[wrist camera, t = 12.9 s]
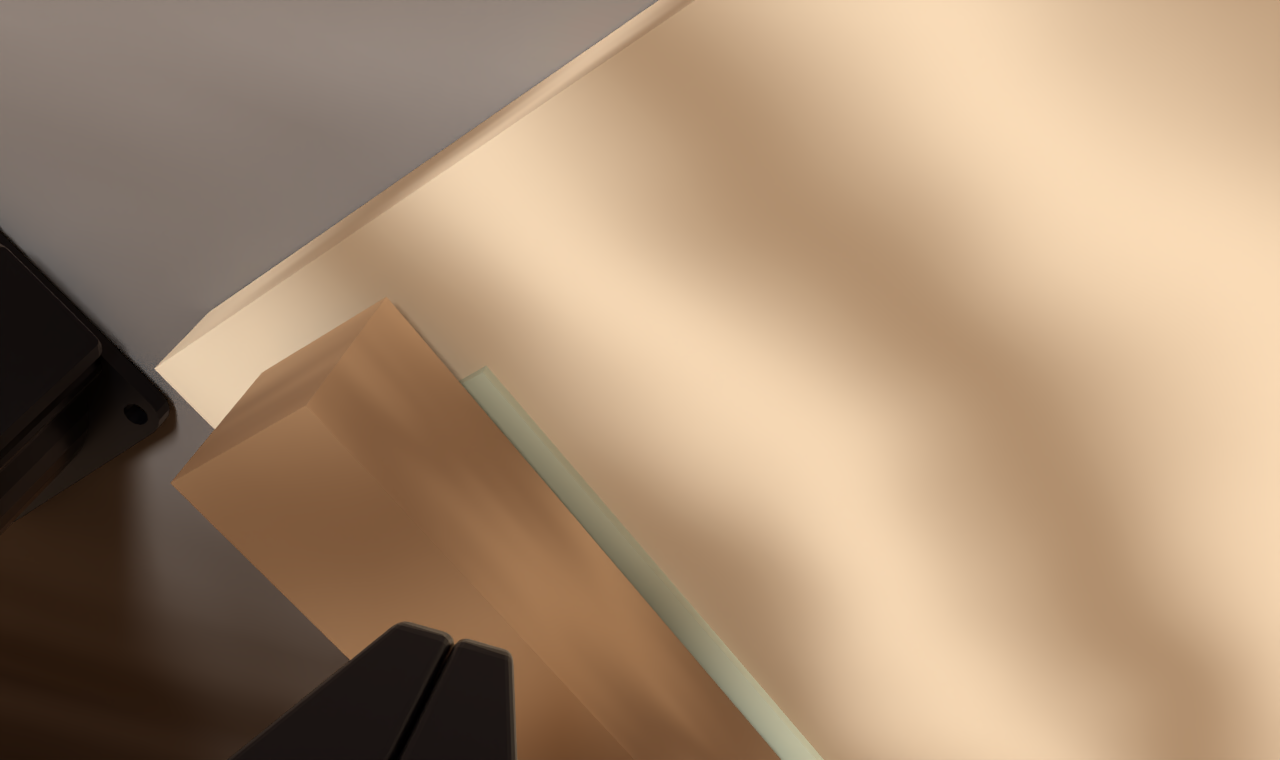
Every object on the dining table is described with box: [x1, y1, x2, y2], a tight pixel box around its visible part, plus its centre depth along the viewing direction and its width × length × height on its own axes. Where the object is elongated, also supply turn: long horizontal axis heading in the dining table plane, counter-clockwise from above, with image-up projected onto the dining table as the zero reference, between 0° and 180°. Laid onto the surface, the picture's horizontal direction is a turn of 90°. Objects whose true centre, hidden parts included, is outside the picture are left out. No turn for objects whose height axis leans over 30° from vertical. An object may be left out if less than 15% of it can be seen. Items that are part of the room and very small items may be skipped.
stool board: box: [155, 0, 1280, 760], centre depth 21 cm, size 23×24×2 cm
